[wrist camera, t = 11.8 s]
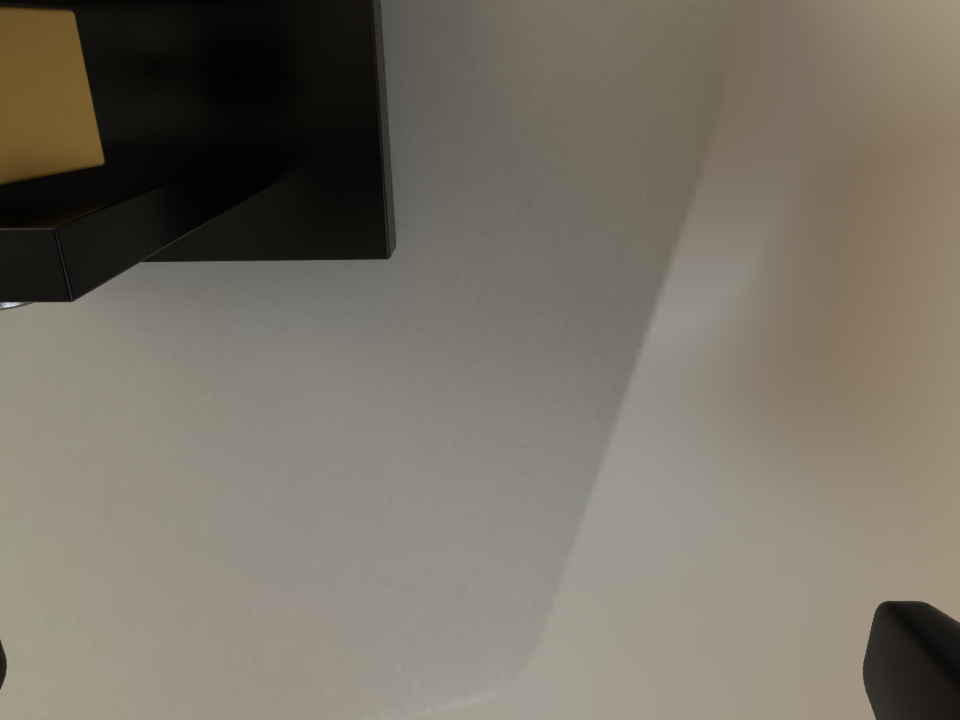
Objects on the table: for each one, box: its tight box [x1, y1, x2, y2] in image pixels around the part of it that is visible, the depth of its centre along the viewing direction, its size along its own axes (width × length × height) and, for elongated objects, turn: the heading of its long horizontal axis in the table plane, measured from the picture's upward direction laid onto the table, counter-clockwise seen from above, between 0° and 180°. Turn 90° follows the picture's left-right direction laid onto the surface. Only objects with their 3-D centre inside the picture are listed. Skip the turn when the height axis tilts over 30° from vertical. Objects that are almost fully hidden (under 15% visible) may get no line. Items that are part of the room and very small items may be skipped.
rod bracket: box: [0, 0, 396, 310], centre depth 13 cm, size 10×8×10 cm
